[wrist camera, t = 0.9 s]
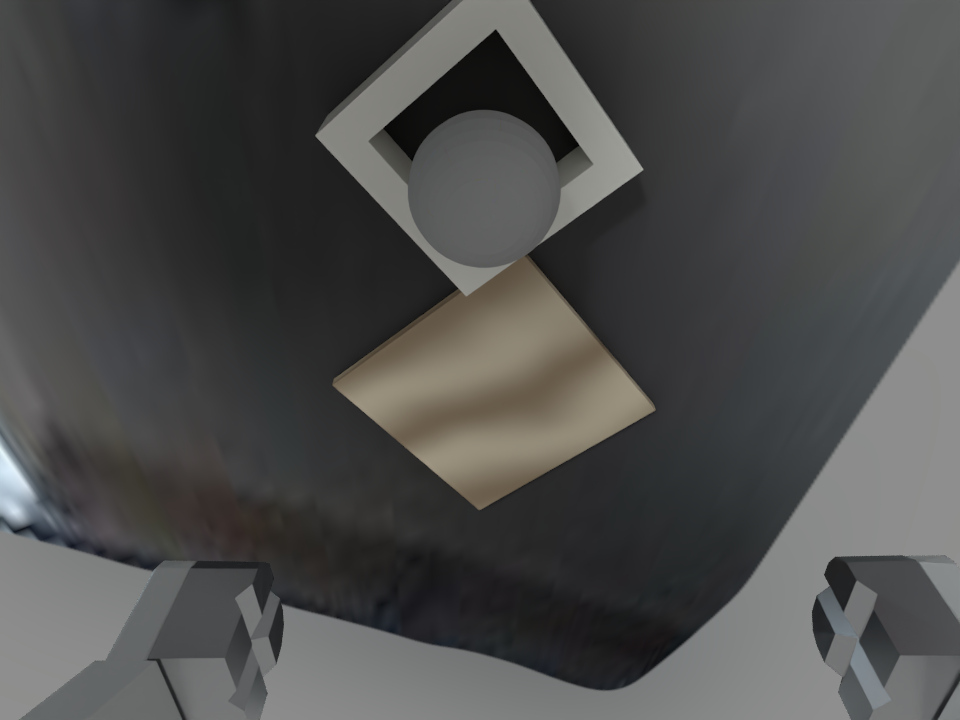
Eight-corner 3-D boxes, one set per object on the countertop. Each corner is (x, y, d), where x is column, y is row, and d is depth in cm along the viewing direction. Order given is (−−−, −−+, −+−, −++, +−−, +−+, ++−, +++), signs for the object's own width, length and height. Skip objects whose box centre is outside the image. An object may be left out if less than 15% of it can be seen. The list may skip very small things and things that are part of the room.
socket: (327, 115, 30) (314, 135, 27) (499, -45, 26) (503, -37, 24) (466, 266, 34) (466, 296, 32) (629, 147, 31) (643, 169, 28)
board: (333, 378, 38) (332, 385, 38) (519, 244, 34) (520, 250, 33) (479, 503, 44) (479, 510, 44) (653, 403, 39) (655, 410, 39)
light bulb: (524, 48, 28) (546, 115, 20) (554, 170, 31) (584, 271, 23) (402, 89, 29) (376, 168, 21) (443, 203, 32) (434, 312, 24)
